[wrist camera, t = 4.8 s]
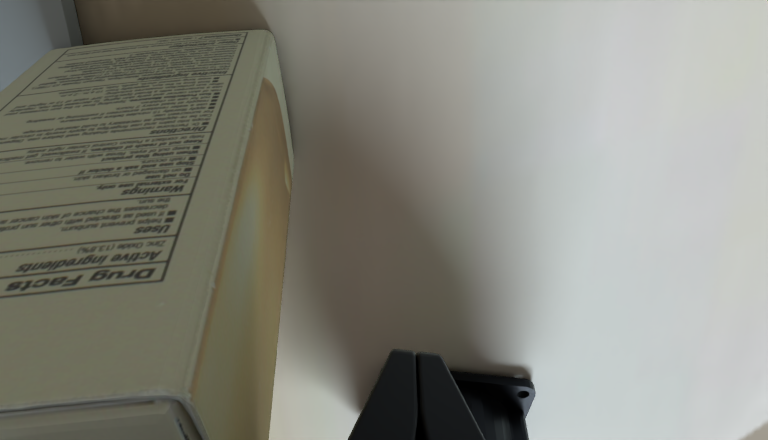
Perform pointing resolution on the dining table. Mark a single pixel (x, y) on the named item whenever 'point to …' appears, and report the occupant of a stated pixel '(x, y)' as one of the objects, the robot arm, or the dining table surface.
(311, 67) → the dining table surface
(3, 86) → the mat
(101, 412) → the skincare box
